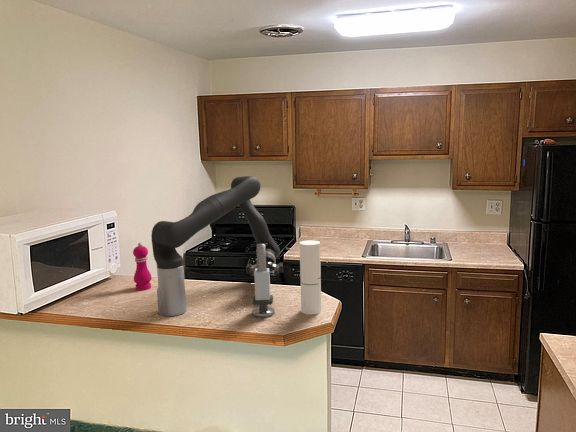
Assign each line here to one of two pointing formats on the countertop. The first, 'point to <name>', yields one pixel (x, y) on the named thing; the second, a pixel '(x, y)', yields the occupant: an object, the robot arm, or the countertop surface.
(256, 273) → the sleeve
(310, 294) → the cylindrical container
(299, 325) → the countertop surface
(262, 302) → the ring
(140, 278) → the pepper mill
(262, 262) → the pipe stand
